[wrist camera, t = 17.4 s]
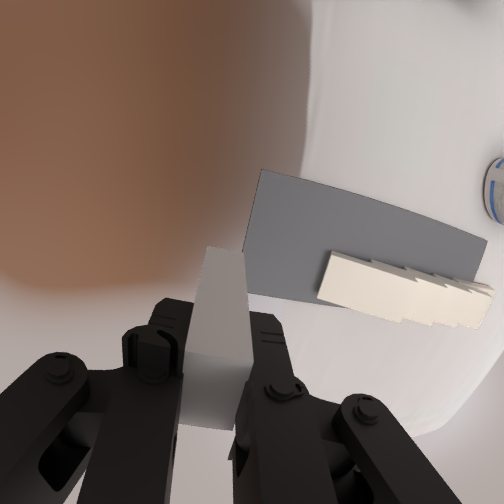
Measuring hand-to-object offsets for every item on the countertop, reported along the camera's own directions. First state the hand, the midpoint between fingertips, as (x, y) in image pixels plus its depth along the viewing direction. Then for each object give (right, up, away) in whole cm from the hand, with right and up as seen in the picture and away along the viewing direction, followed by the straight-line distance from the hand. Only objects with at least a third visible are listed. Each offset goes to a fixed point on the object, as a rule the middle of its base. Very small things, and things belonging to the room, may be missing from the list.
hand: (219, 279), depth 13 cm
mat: (+17, 0, +20) cm, 27 cm away
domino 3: (+19, -3, +20) cm, 28 cm away
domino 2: (+14, -2, +20) cm, 24 cm away
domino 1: (+9, -1, +19) cm, 21 cm away
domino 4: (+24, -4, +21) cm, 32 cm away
